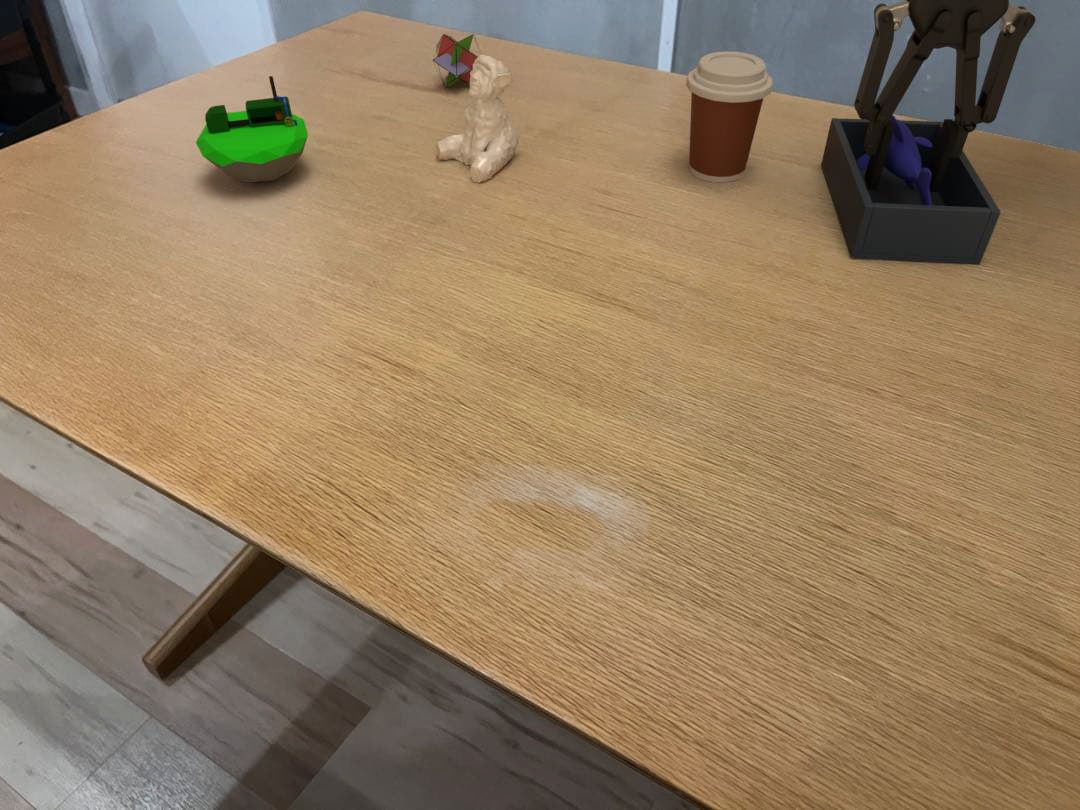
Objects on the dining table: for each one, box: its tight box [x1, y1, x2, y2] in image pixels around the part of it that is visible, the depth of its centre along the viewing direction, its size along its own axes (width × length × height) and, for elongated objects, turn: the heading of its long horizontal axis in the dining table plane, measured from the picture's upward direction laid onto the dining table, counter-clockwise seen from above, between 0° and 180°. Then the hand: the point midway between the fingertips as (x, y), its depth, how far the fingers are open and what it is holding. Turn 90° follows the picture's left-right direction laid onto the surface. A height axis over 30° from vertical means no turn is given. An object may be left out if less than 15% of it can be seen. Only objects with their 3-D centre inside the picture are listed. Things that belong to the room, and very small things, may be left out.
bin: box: [820, 117, 1002, 265], centre depth 85 cm, size 12×20×6 cm, turn 174°
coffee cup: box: [685, 50, 774, 183], centre depth 90 cm, size 9×9×12 cm
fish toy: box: [857, 114, 933, 205], centre depth 83 cm, size 15×8×7 cm, turn 0°
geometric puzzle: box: [431, 33, 483, 89], centre depth 112 cm, size 7×7×8 cm
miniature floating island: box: [195, 75, 309, 184], centre depth 91 cm, size 12×12×11 cm
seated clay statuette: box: [435, 53, 520, 184], centre depth 93 cm, size 10×9×12 cm
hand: (900, 184), depth 85 cm, fingers closed on fish toy, 5 cm apart
